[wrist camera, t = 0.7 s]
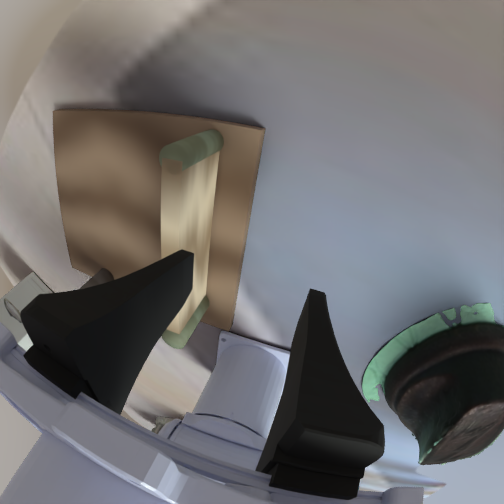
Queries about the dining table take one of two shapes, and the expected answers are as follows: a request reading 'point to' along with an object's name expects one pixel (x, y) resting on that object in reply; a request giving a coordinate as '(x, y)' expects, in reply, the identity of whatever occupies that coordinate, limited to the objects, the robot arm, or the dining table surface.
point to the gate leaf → (189, 218)
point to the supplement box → (20, 306)
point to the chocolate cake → (445, 383)
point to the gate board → (148, 195)
